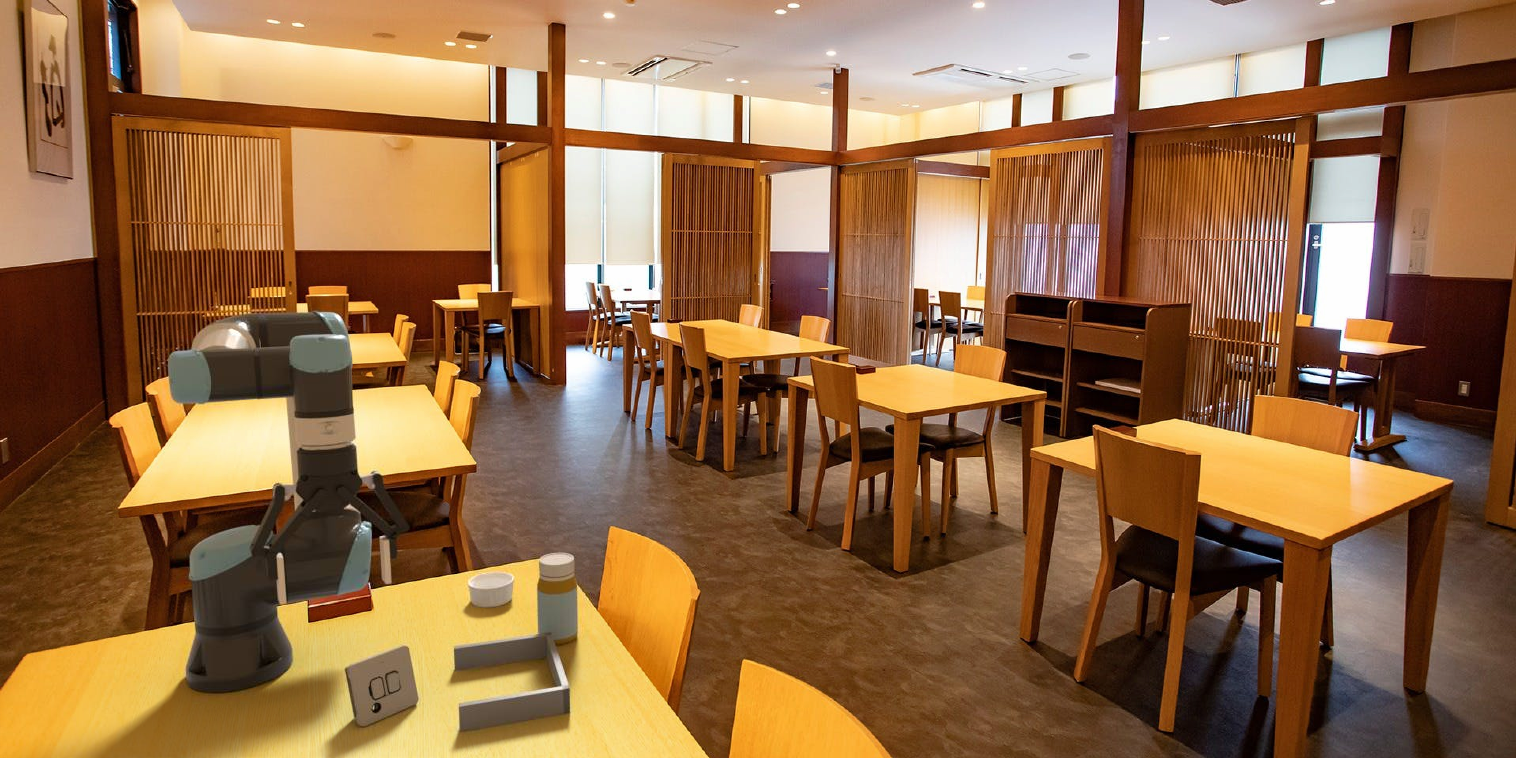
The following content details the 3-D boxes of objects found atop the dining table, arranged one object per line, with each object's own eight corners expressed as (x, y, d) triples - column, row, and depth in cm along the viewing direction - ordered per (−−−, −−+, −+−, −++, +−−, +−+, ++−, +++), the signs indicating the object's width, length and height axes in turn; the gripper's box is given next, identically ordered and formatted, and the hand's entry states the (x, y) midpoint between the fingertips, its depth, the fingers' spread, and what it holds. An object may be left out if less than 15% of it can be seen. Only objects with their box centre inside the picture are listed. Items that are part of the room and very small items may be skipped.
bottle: (585, 635, 157) (584, 557, 155) (557, 649, 151) (556, 569, 149) (558, 625, 161) (557, 549, 159) (530, 639, 155) (528, 560, 153)
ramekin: (460, 607, 168) (459, 586, 168) (481, 589, 177) (481, 569, 176) (502, 611, 167) (501, 590, 166) (522, 593, 175) (521, 573, 175)
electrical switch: (360, 730, 126) (354, 669, 125) (344, 720, 129) (338, 661, 128) (420, 704, 133) (414, 646, 132) (403, 696, 136) (397, 639, 135)
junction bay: (454, 668, 144) (453, 646, 143) (551, 653, 150) (551, 632, 149) (459, 732, 126) (458, 706, 125) (570, 712, 132) (569, 688, 131)
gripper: (224, 459, 110) (236, 619, 113) (425, 438, 125) (433, 580, 127) (220, 451, 116) (232, 602, 119) (413, 431, 131) (420, 567, 133)
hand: (336, 591), depth 123 cm, fingers open, 13 cm apart
